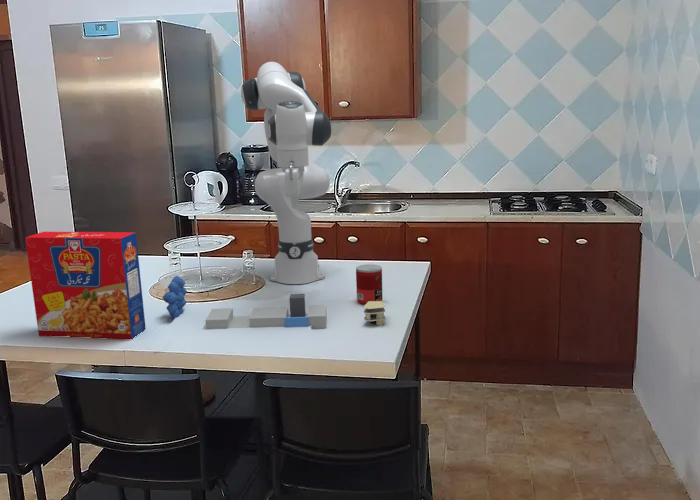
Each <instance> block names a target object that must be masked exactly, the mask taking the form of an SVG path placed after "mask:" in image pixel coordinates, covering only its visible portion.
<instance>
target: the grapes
mask: <svg viewBox="0 0 700 500" xmlns="http://www.w3.org/2000/svg"><path fill="white" fill-rule="evenodd" d="M185 285H186V282H185V280H184V279H183V278H181V277H180V276H177V275H176V276H174V277H173V278H172V279H171V282H169V284H168V286H167V288H168V291H167V292H165V293H164V294H163V296H162V299H163V301H164V302H165V303H167V304H168V305H167V306H166V310H167V312H168V314H169V316H170V318H171V319H174V320H175V319H176V318H178V317H179V316H180V315H181V314H184V307H185V305H186V304H187V301H186V300H185V296H186V294H187V293H188V291H187V289H186V287H185Z"/></svg>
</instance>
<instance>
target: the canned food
mask: <svg viewBox="0 0 700 500" xmlns="http://www.w3.org/2000/svg"><path fill="white" fill-rule="evenodd" d="M355 278H356V279H355V283H356V284H355V285H356V301H357V303H358V304H360V305H362V306H365V305H366V304H367V302H368V301H382V302H383V267H382V266H381V265H379V264H371V263H369V264H360V265H357V266H356V267H355Z"/></svg>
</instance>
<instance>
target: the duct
mask: <svg viewBox="0 0 700 500" xmlns="http://www.w3.org/2000/svg"><path fill="white" fill-rule="evenodd" d="M327 309H328V308H327V304H320V305H314V304H313V305H308V310H307V311H308V313H305V314H306V317H290V309H289V306H288V305H286V306H285V305H284V306H263V307H262V306H260V307H259V306H258V307H256V306H255V307H253V308H252V310H251V313H250V315H239V316H238V315H237V316H236V315H234V307H231V308H229V307H228V308H227V307H226V308H211V310H210V311H209V313H208V315H207V317H206V319H204V320H205V321H204V322H205V324H204V325H203V327H202V330H216V329H243V328H244V329H245V328H247V329H248V328H271V327H272V328H275V327H285V328H299V327H302V328H304V327H310V326H311V327H310V328H311V329H315V330H316V329H327V324H328V323H327V319H328V315H327V314H328V313H327V312H328V311H327Z"/></svg>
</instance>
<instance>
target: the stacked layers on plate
mask: <svg viewBox="0 0 700 500" xmlns="http://www.w3.org/2000/svg"><path fill="white" fill-rule="evenodd" d="M385 307H386V305H385V303H384V302H383V300H382V301H368V302H367V304H366V305H363V308H364V310H363V314H365V316H364V317H363V321H365V322H375V321H376V323H375V325H376V326H383V325H385V320H386V316H385V314H384V313H385V312H386V309H385Z"/></svg>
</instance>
